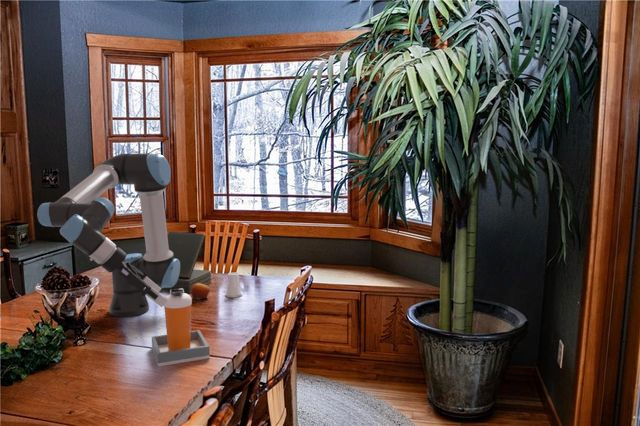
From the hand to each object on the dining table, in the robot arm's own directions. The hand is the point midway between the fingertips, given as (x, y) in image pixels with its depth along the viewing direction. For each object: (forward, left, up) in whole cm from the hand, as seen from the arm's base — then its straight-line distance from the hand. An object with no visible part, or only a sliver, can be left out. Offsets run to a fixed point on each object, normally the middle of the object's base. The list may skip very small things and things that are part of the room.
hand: (161, 297), depth 171 cm
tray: (0, +5, -20) cm, 20 cm away
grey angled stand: (-83, +18, -20) cm, 87 cm away
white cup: (-58, +38, -20) cm, 72 cm away
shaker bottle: (0, +5, -19) cm, 19 cm away
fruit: (-58, +23, -20) cm, 66 cm away
